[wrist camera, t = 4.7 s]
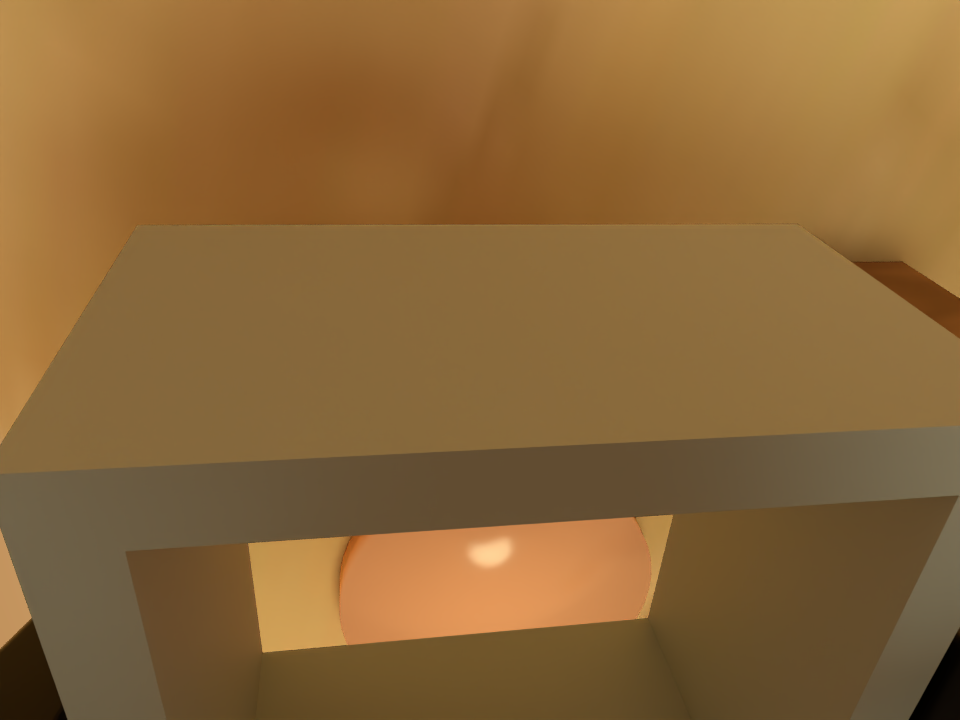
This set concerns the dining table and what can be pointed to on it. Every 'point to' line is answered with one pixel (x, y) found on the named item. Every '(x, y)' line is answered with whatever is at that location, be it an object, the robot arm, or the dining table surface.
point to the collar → (494, 467)
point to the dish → (492, 579)
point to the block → (918, 292)
